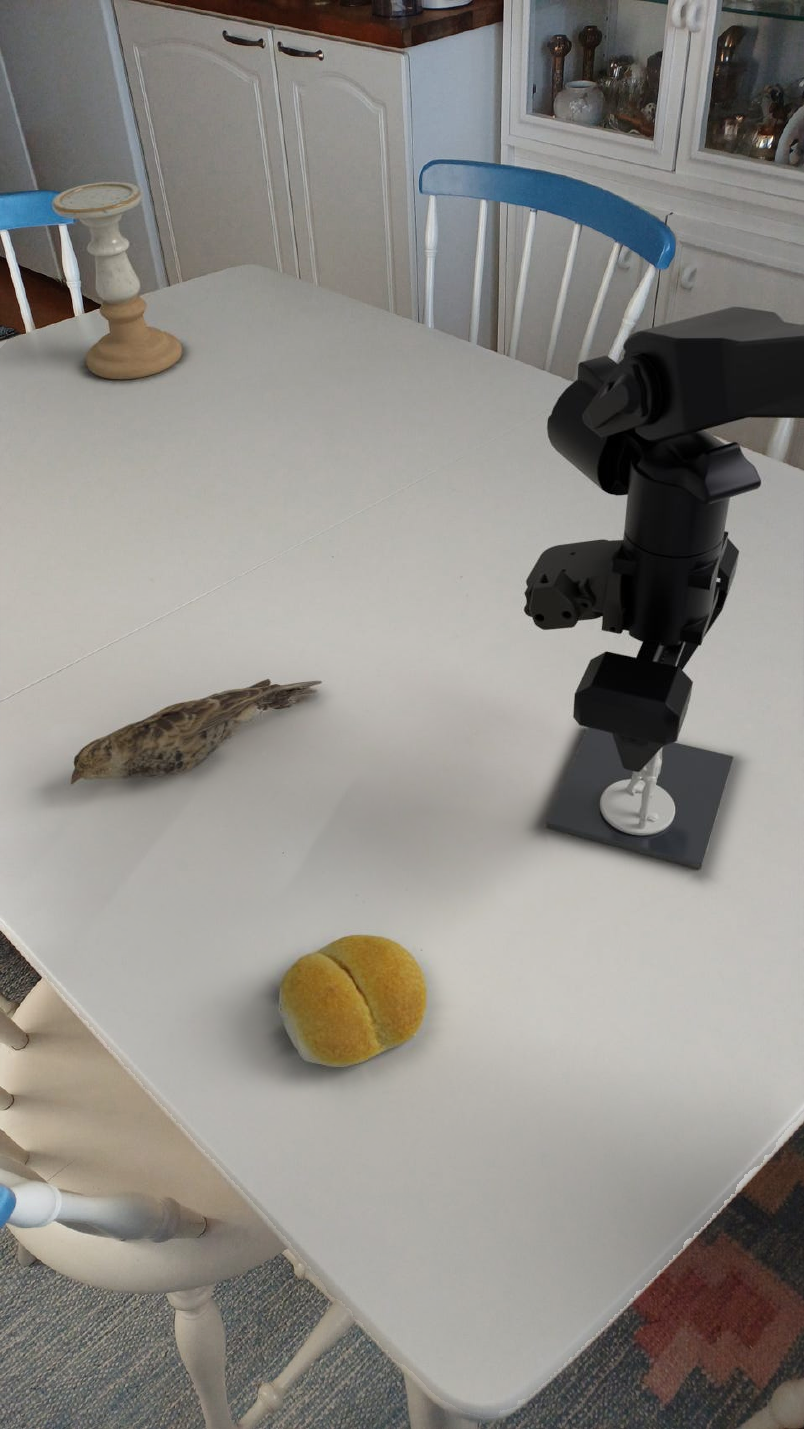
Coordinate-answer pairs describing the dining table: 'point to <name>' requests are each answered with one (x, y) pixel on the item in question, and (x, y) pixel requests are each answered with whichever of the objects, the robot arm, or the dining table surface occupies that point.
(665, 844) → the slate tile
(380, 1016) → the bread roll
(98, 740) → the bird model
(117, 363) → the candle holder
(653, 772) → the figurine
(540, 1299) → the dining table surface
